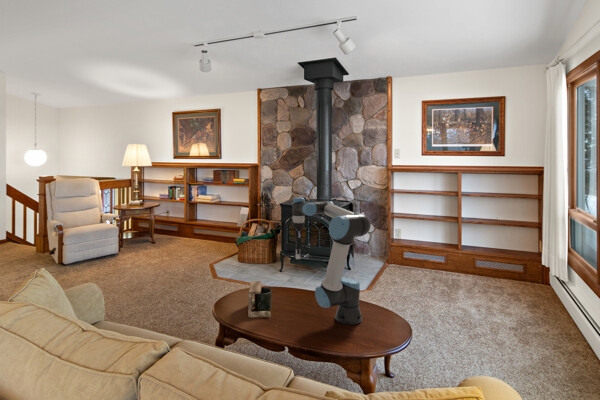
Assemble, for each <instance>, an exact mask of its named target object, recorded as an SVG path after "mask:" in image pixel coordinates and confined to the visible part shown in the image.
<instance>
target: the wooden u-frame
mask: <svg viewBox="0 0 600 400" xmlns="http://www.w3.org/2000/svg"><path fill="white" fill-rule="evenodd" d="M261 288H262V280H251V281H250V283H249V290H248V295H247V298H248V299H247V301H248V310H247V312H248V315H247V316H248V318H270V319H271V317H272V314H271V313H272V312H271V311H256V310H255V311H253V306H255V299H254V296H253V295H255V294H261Z"/></svg>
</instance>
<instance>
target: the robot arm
mask: <svg viewBox="0 0 600 400" xmlns="http://www.w3.org/2000/svg"><path fill="white" fill-rule="evenodd" d="M314 215H325V216H328V217H330V218H332V219H331V220H330V221H329V224H328V231H329V232H328V233H329V236H330V237H331V238H330V239H331V240H332V242H333V243H332V247H331V251H330V256H329V261H328V265H327V269H326V273H325V278H323V279H322V280H321V284H320V286H316V288H315V289H314V296H315V300H316V302H317V304H318V305H319V306H320V307H321V308H324V309H325V308H327V309H328V308H331V307H335V306H337V309H336V312H335V316H334V317H335V320H336V322H338V323H340V324H343V325H348V326H349V325H350V326H351V325H358V324H360V323H362V321H363V320H362V319H363V316H362V313H361V308H360V293H361V292H360V291H361V286H360V282H359V281H358V280H356V279H352V278H347V277H346V278H345V277H343V275H344V269H345V267H346V262H347V257H348V254H349V250H350V246H351V245H353V244H354V242H355V238H359V237H364V236H365V235H366V234H368V233H369V232H370V231H371V230H370V229H371V227H372V225H371V221H370V218H369V217H368V216H367V215H365V214H364V213H361V212H353V211H350V210H347V209H345V208H342V207H340V206H337V205H335V204H334V202H333V201H328V200H326V201H310V202H309V201H305V198H304V197H293V199H292V216H291V219H292V229H294V233H295V234H294V236H295V260H301V249H302V236H303V235H302V233H303V232H302V230H303V229H304V228H305V216H314Z"/></svg>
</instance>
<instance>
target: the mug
mask: <svg viewBox="0 0 600 400" xmlns="http://www.w3.org/2000/svg"><path fill="white" fill-rule="evenodd" d="M272 292H273V290H272V288H270V287H265V286H264V287H262V286H261V294H254V300H255V305H254V310H255V311H268V312H271V310H272Z"/></svg>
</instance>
